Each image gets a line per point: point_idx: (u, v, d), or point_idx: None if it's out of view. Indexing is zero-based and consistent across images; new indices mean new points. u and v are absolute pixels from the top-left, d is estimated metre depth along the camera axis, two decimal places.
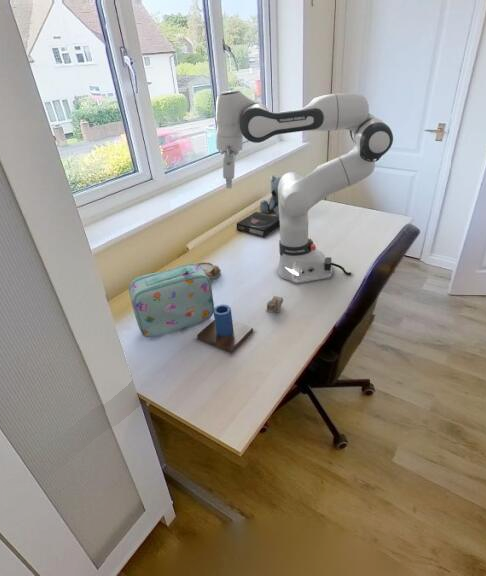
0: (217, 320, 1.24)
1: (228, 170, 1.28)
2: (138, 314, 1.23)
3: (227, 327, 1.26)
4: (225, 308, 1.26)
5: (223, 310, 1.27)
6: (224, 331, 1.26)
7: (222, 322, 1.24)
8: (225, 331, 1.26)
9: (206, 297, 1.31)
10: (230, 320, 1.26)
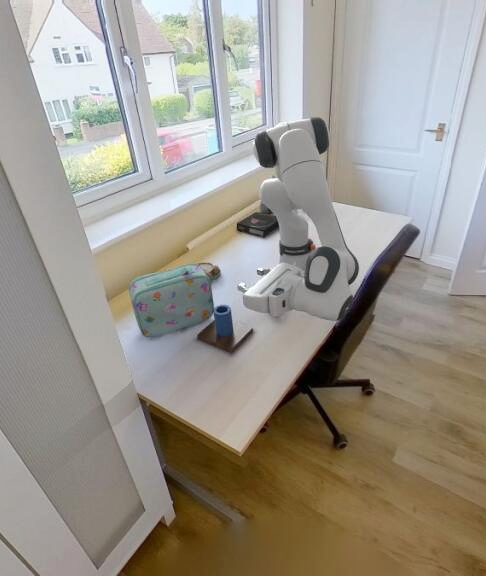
0: (217, 320, 1.24)
1: None
2: (138, 314, 1.23)
3: (227, 327, 1.26)
4: (225, 308, 1.26)
5: (223, 310, 1.27)
6: (224, 331, 1.26)
7: (222, 322, 1.24)
8: (225, 331, 1.26)
9: (206, 297, 1.31)
10: (230, 320, 1.26)
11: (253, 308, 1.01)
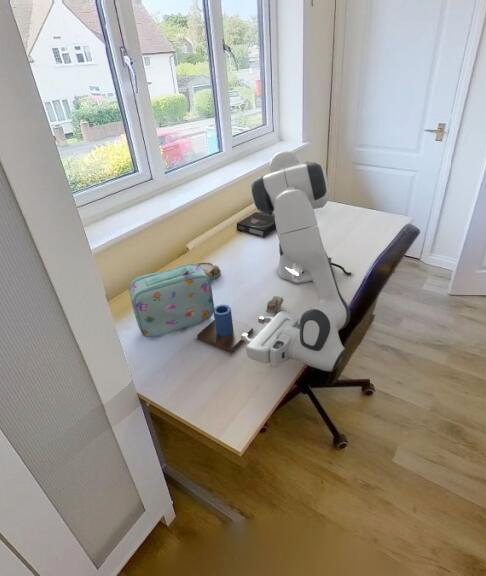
0: (217, 320, 1.24)
1: None
2: (138, 314, 1.23)
3: (227, 327, 1.26)
4: (225, 308, 1.26)
5: (223, 310, 1.27)
6: (224, 331, 1.26)
7: (222, 322, 1.24)
8: (225, 331, 1.26)
9: (206, 297, 1.31)
10: (230, 320, 1.26)
11: (255, 359, 1.11)
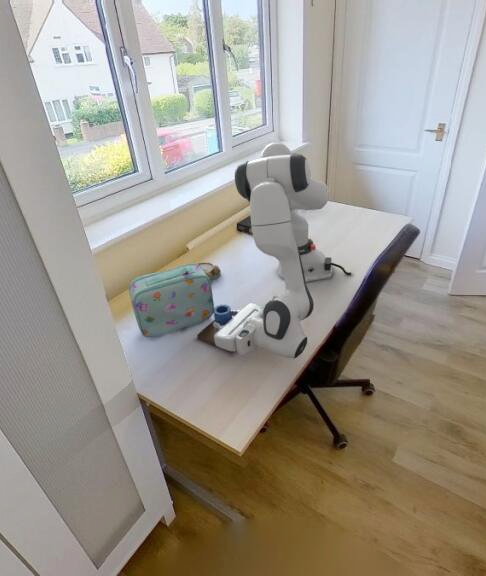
0: (217, 320, 1.24)
1: None
2: (138, 314, 1.23)
3: None
4: (225, 308, 1.26)
5: (223, 310, 1.27)
6: None
7: (222, 322, 1.24)
8: None
9: (206, 297, 1.31)
10: None
11: (223, 347, 1.17)
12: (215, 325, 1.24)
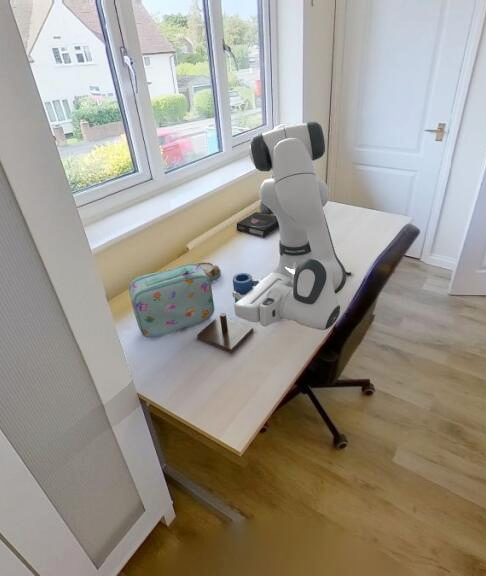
0: (237, 289, 1.12)
1: None
2: (138, 314, 1.23)
3: None
4: (245, 277, 1.14)
5: (243, 279, 1.15)
6: None
7: (242, 292, 1.11)
8: None
9: (206, 297, 1.31)
10: None
11: (244, 318, 1.05)
12: (235, 295, 1.11)
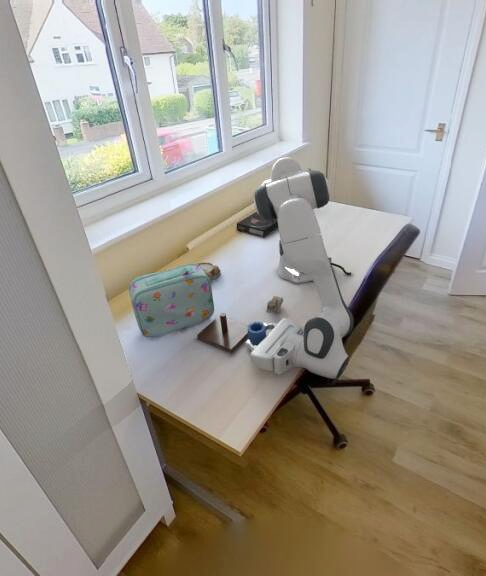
0: (251, 338, 1.19)
1: None
2: (138, 314, 1.23)
3: None
4: (259, 325, 1.21)
5: (257, 327, 1.22)
6: None
7: (257, 340, 1.19)
8: None
9: (206, 297, 1.31)
10: None
11: (259, 366, 1.12)
12: (247, 345, 1.18)
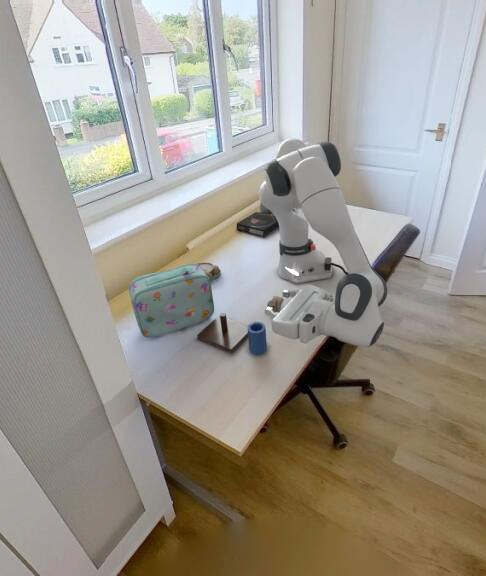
0: (251, 338, 1.19)
1: None
2: (138, 314, 1.23)
3: (261, 345, 1.21)
4: (259, 325, 1.21)
5: (257, 327, 1.22)
6: (258, 349, 1.21)
7: (257, 340, 1.19)
8: (259, 349, 1.21)
9: (206, 297, 1.31)
10: (264, 338, 1.21)
11: (282, 334, 1.00)
12: (267, 312, 1.06)
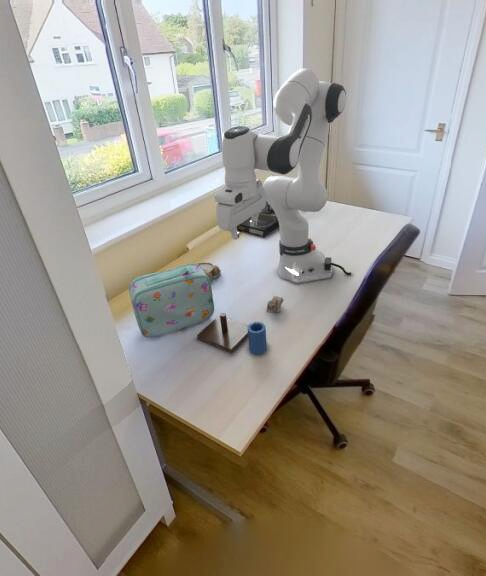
0: (251, 338, 1.19)
1: None
2: (138, 314, 1.23)
3: (261, 345, 1.21)
4: (259, 325, 1.21)
5: (257, 327, 1.22)
6: (258, 349, 1.21)
7: (257, 340, 1.19)
8: (259, 349, 1.21)
9: (206, 297, 1.31)
10: (264, 338, 1.21)
11: (226, 220, 1.08)
12: (234, 236, 1.16)
